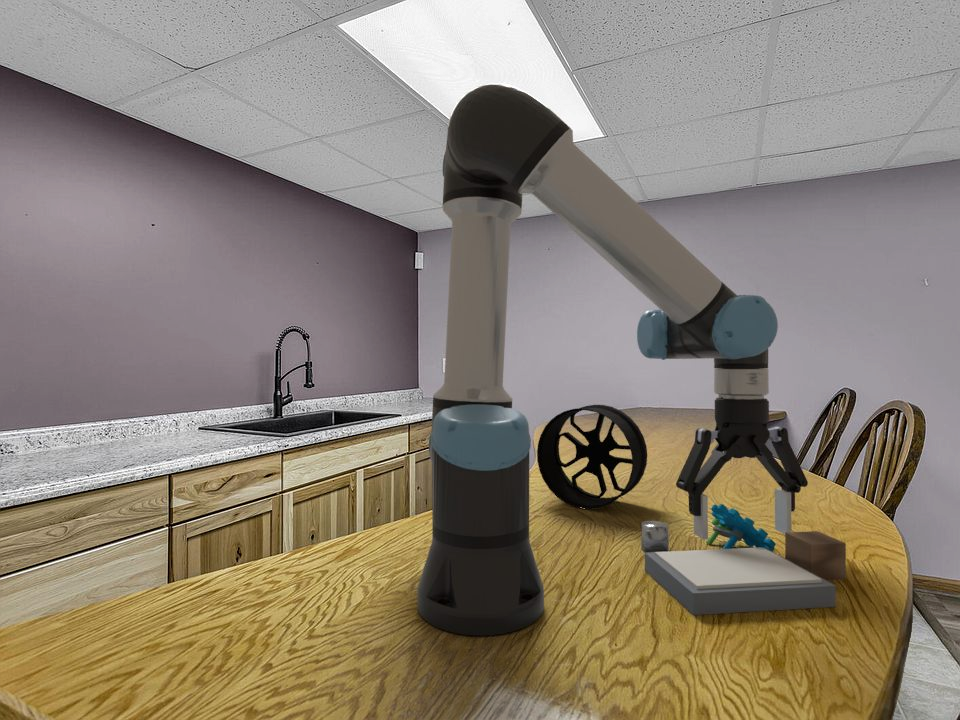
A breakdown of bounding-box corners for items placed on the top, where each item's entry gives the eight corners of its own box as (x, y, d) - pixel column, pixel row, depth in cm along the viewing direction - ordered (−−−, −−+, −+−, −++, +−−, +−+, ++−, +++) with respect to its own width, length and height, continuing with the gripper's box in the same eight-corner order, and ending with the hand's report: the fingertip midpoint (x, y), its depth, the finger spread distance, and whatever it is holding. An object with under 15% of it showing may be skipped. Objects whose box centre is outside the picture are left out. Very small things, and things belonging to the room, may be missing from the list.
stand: (693, 615, 61) (693, 589, 61) (644, 570, 74) (644, 549, 74) (835, 606, 63) (835, 582, 63) (764, 564, 76) (764, 544, 76)
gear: (792, 552, 76) (744, 504, 76) (770, 585, 75) (720, 536, 75) (742, 538, 87) (700, 496, 87) (722, 566, 86) (678, 523, 85)
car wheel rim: (647, 505, 107) (647, 406, 107) (632, 517, 99) (632, 410, 99) (556, 491, 118) (556, 402, 118) (536, 502, 109) (536, 405, 109)
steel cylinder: (648, 555, 79) (648, 529, 79) (637, 546, 83) (637, 521, 83) (673, 554, 80) (673, 528, 80) (661, 545, 84) (661, 520, 84)
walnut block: (811, 582, 70) (811, 544, 70) (785, 567, 75) (785, 532, 75) (845, 580, 71) (845, 543, 71) (817, 566, 76) (817, 531, 76)
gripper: (676, 399, 76) (677, 546, 76) (834, 397, 79) (835, 538, 79) (653, 396, 83) (654, 530, 83) (798, 393, 86) (799, 523, 86)
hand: (742, 534), depth 81 cm, fingers open, 13 cm apart
